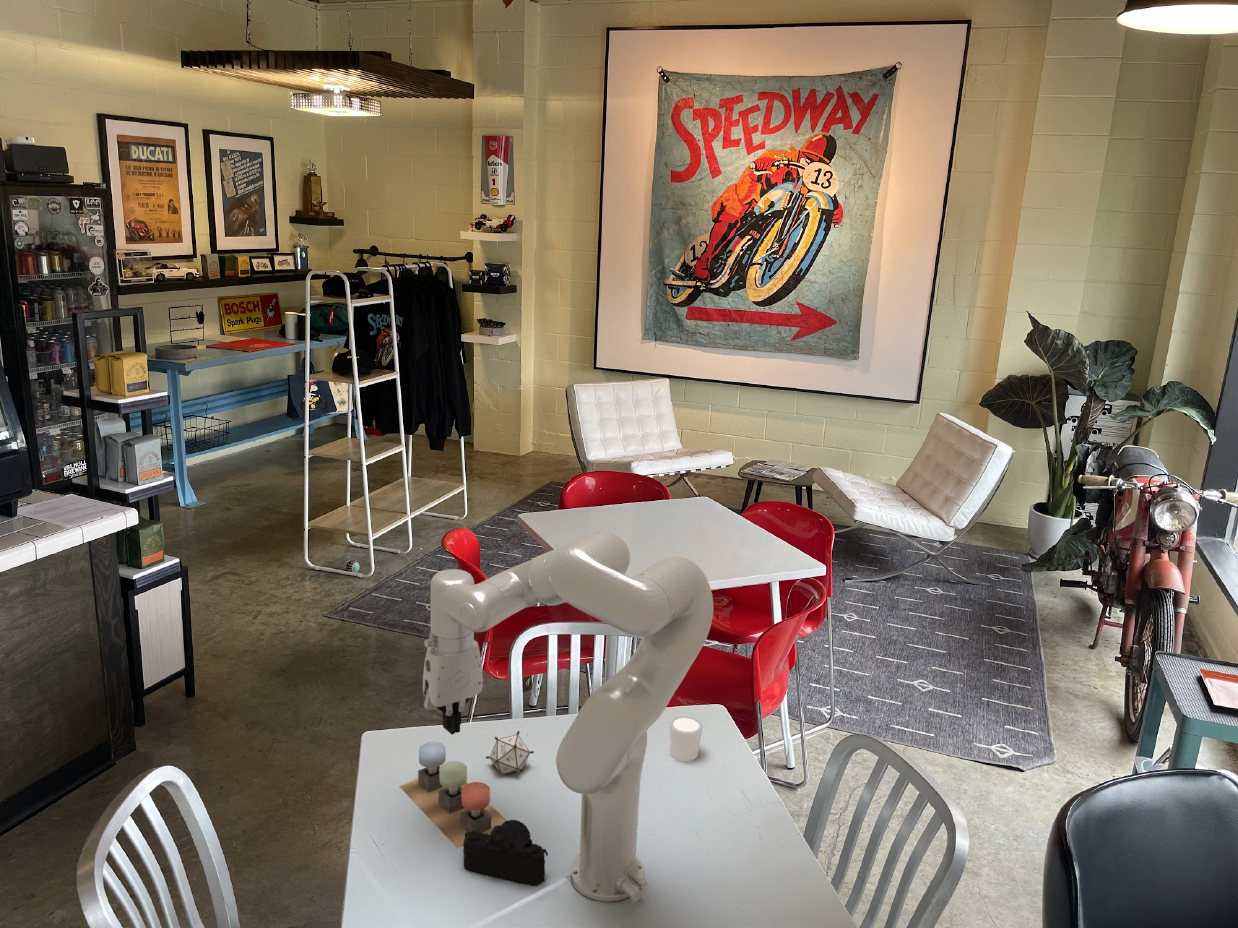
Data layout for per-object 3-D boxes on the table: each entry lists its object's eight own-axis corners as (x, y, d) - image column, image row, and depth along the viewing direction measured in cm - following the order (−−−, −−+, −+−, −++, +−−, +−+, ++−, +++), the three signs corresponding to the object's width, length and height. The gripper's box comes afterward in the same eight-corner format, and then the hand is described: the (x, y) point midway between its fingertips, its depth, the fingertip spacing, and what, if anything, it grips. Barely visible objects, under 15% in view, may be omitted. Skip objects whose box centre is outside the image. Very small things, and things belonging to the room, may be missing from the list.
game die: (516, 792, 186) (529, 773, 179) (477, 776, 185) (488, 757, 178) (529, 751, 192) (542, 732, 185) (491, 736, 192) (502, 716, 184)
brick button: (495, 816, 167) (495, 791, 166) (470, 826, 164) (470, 802, 162) (480, 802, 171) (480, 778, 169) (456, 812, 167) (456, 788, 166)
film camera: (559, 859, 162) (560, 814, 160) (539, 897, 153) (540, 850, 151) (479, 840, 166) (479, 797, 164) (455, 876, 157) (455, 831, 155)
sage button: (472, 794, 173) (472, 770, 171) (448, 803, 170) (447, 780, 168) (458, 781, 176) (458, 757, 175) (434, 790, 173) (434, 767, 172)
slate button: (450, 773, 179) (450, 750, 177) (427, 782, 176) (426, 759, 174) (437, 761, 182) (437, 738, 181) (414, 770, 179) (414, 747, 178)
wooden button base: (510, 829, 169) (510, 811, 168) (457, 853, 163) (457, 834, 162) (450, 771, 186) (449, 754, 185) (399, 791, 179) (399, 774, 178)
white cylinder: (664, 759, 193) (666, 729, 191) (672, 742, 199) (674, 712, 197) (696, 766, 191) (698, 736, 189) (703, 748, 197) (705, 719, 195)
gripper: (424, 658, 157) (424, 753, 162) (499, 636, 167) (497, 726, 172) (403, 641, 163) (404, 733, 168) (477, 620, 172) (476, 708, 177)
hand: (451, 729), depth 170 cm, fingers closed
